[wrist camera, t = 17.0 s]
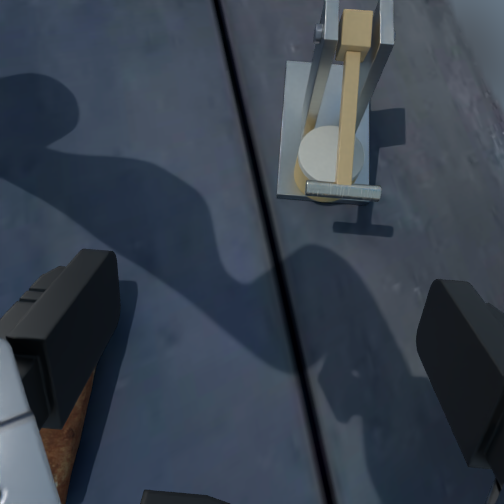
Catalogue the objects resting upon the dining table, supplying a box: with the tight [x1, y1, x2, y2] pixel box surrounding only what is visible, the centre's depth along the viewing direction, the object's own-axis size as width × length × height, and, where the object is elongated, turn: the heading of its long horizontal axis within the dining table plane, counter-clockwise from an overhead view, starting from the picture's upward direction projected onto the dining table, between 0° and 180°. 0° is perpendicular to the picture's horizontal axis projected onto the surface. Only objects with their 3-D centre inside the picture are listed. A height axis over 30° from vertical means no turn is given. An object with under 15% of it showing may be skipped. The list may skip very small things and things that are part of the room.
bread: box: [39, 274, 97, 504], centre depth 35 cm, size 6×19×6 cm, turn 173°
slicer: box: [277, 0, 395, 205], centre depth 39 cm, size 16×9×15 cm, turn 175°
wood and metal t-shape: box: [305, 9, 381, 202], centre depth 33 cm, size 14×6×2 cm, turn 176°
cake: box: [294, 126, 365, 202], centre depth 41 cm, size 6×6×4 cm
